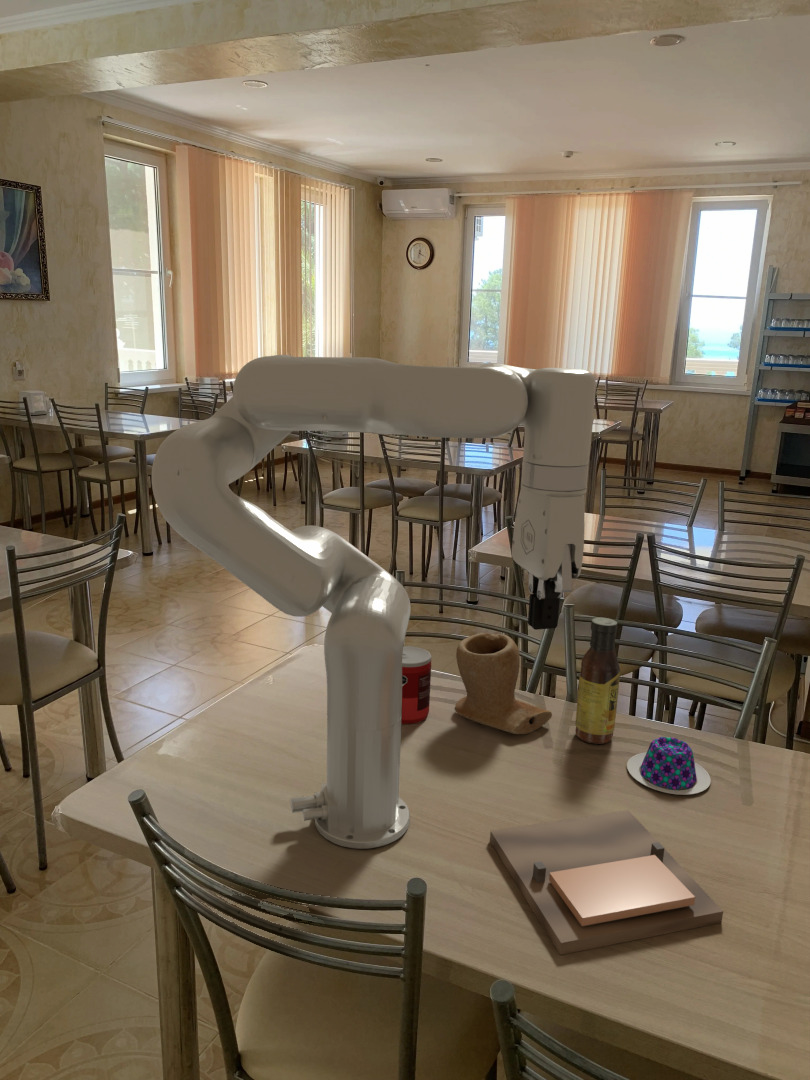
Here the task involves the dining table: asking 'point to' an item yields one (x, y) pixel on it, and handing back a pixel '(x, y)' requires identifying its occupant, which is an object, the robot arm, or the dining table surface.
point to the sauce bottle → (598, 685)
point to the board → (586, 845)
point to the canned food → (415, 684)
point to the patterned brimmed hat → (669, 767)
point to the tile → (620, 890)
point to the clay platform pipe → (494, 685)
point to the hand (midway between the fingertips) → (542, 626)
